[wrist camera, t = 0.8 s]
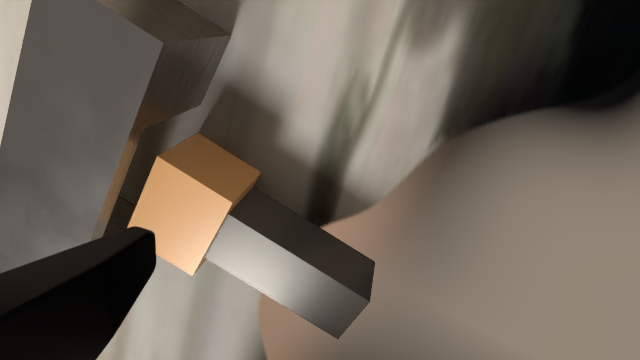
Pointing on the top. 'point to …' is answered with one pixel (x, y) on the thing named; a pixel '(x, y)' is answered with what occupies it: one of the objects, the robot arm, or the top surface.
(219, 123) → the top surface
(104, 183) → the housing
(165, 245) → the plug
